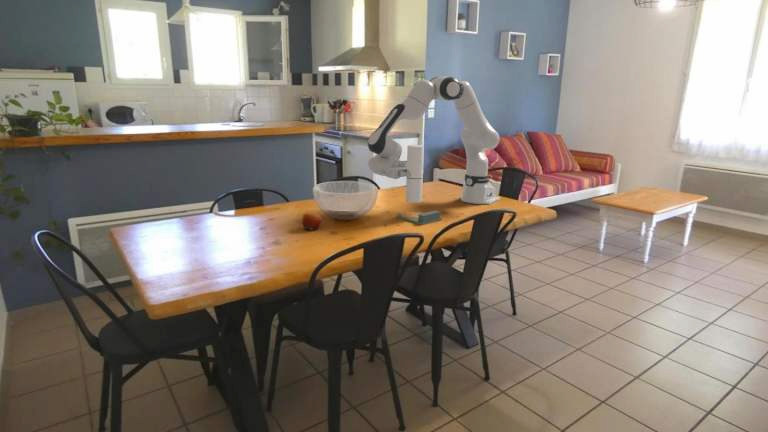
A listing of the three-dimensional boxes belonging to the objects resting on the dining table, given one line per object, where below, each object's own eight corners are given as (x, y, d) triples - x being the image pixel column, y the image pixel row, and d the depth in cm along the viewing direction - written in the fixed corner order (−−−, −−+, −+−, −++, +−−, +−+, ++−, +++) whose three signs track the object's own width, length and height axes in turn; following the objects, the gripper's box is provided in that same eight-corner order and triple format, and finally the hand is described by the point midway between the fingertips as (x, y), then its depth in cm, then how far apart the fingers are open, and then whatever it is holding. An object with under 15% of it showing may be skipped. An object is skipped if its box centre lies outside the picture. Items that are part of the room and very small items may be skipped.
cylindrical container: (421, 199, 212) (423, 145, 206) (421, 203, 206) (423, 146, 199) (406, 198, 213) (407, 144, 207) (405, 202, 206) (407, 146, 200)
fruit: (296, 228, 187) (300, 209, 189) (304, 232, 194) (309, 214, 196) (313, 230, 184) (318, 211, 186) (321, 235, 192) (325, 217, 194)
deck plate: (415, 212, 220) (415, 204, 219) (441, 220, 208) (441, 211, 207) (395, 216, 212) (395, 208, 210) (421, 225, 200) (421, 216, 199)
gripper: (378, 164, 207) (399, 169, 198) (410, 160, 221) (431, 164, 211) (378, 178, 209) (399, 183, 199) (409, 173, 223) (430, 178, 213)
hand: (416, 173), depth 205 cm, fingers closed on cylindrical container, 7 cm apart
